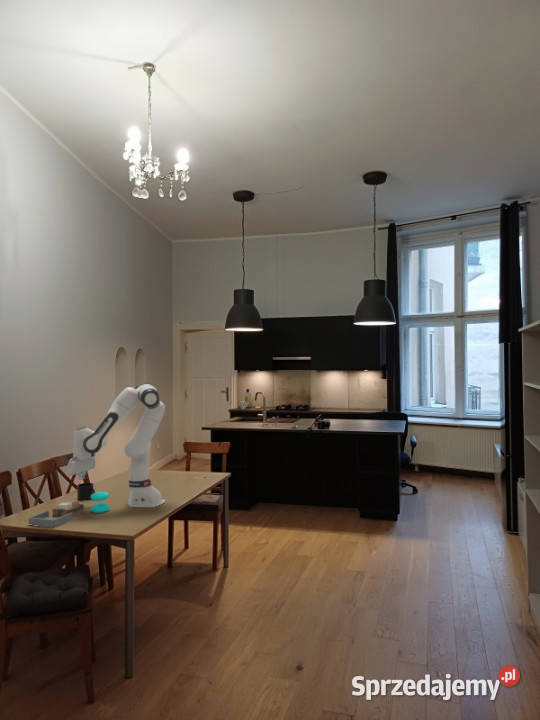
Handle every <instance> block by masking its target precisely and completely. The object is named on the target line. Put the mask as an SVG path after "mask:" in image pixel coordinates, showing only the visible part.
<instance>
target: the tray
mask: <svg viewBox="0 0 540 720" xmlns="http://www.w3.org/2000/svg"><path fill="white" fill-rule="evenodd" d="M71 520H72V521H73V520H74V517H73V513H69V514H67V515H64V516H62V517H53V516H50V510H45V511H43V512H40V513H38V514H35V515H33V516H29V517H28V525H29V524H32V525H38V526H43V527H42V528H48V527H49V529H56V528H57V526H58V527H60V526H62V524H63V525H64V523H65V524H67V523H69V522H72V521H71ZM68 521H69V522H68ZM66 522H67V523H66ZM59 525H60V526H59ZM38 526H37V527H38ZM55 527H56V528H55Z"/></svg>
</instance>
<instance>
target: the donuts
mask: <svg viewBox="0 0 540 720" xmlns="http://www.w3.org/2000/svg"><path fill="white" fill-rule="evenodd" d="M109 496H110V493H109V492H106V491H98V492H97V491H95V493H94V492H93V494H92V495H91V500H92V501H94V502H100V501H101V502H102V501H106V500H107V499H109ZM109 510H110V505H109V504H107V503H96V504H94V505H92V506H91V508H90V511H91V512H92V513H95V514H101V513H105V512H107V511H109Z"/></svg>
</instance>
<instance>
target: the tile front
mask: <svg viewBox="0 0 540 720" xmlns="http://www.w3.org/2000/svg"><path fill="white" fill-rule="evenodd" d="M57 507H58V508H59V509H68V508H70V507H72V503H70V502H66V501H64V502H62V503H59V504H58V506H57Z"/></svg>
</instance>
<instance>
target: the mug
mask: <svg viewBox="0 0 540 720" xmlns="http://www.w3.org/2000/svg"><path fill="white" fill-rule="evenodd" d="M76 486H77V487H76V488H77V493H76V494H77V495H76V496H77V500H87V501H91V500H92V499H91V495H92V494H93V493H96V491H95V489H94V483H93V482H82V483H79V484H77V485H76Z"/></svg>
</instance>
